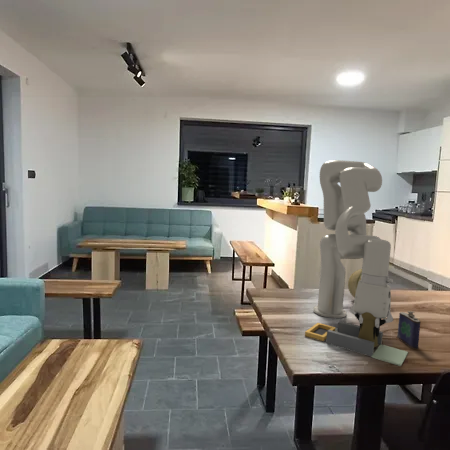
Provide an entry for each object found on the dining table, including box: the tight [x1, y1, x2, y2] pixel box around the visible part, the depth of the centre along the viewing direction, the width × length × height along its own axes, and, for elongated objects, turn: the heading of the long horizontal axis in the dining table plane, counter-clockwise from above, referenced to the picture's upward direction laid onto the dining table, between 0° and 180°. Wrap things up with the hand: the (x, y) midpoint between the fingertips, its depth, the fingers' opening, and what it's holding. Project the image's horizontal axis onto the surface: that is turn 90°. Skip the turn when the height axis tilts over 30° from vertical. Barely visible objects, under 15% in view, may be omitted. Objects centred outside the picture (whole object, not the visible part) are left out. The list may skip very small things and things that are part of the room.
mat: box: [371, 344, 409, 367], centre depth 110 cm, size 11×8×1 cm
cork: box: [358, 312, 379, 348], centre depth 114 cm, size 6×6×11 cm
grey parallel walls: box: [325, 320, 384, 358], centre depth 117 cm, size 12×14×4 cm
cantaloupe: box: [347, 268, 362, 299], centre depth 163 cm, size 15×15×15 cm
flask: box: [396, 310, 421, 350], centre depth 119 cm, size 9×3×11 cm, turn 8°
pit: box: [304, 322, 337, 342], centre depth 123 cm, size 11×6×2 cm, turn 144°
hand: (368, 336), depth 114 cm, fingers closed on cork, 2 cm apart
